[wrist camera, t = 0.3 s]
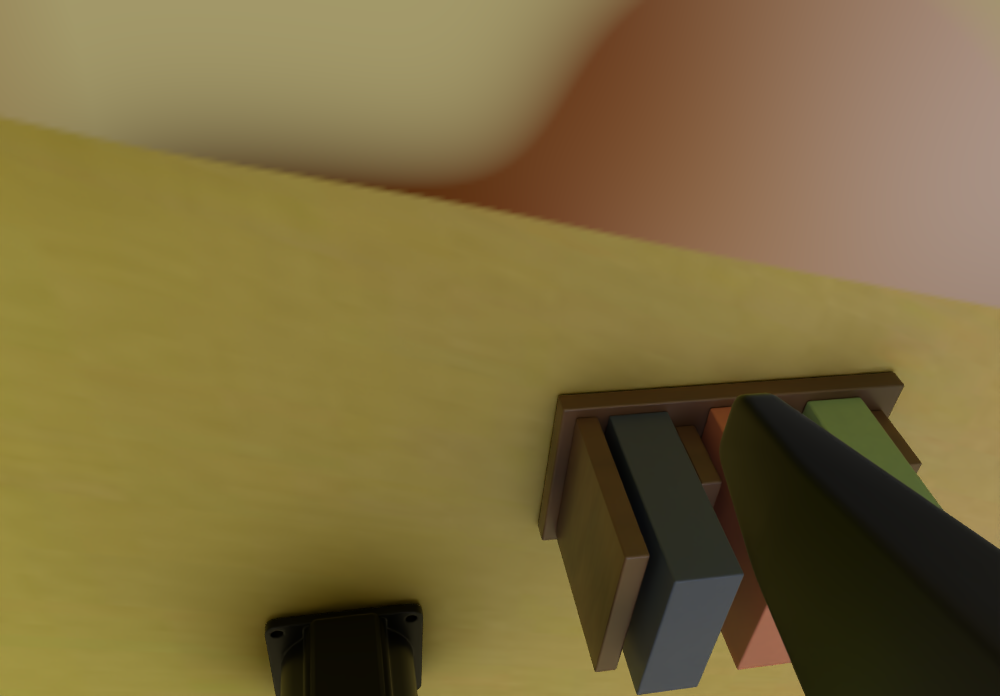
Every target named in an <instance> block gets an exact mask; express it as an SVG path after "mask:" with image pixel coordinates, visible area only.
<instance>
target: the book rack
mask: <svg viewBox="0 0 1000 696" xmlns="http://www.w3.org/2000/svg"><path fill="white" fill-rule="evenodd" d="M903 387H904V384H903V383H902V382H901V380H900V379H899V378H898V377H897V375H896V374H895V373H894V372H888V373H874V374H859V375H845V376H831V377H817V378H802V379H788V380H774V381H759V382H745V383H731V384H717V385H702V386H688V387H674V388H659V389H645V390H631V391H617V392H602V393H588V394H574V395H560V396H559V397H558V403H557V409H556V416H555V422H554V428H553V435H552V441H551V447H550V454H549V460H548V467H547V473H546V479H545V486H544V492H543V498H542V505H541V511H540V518H539V524H538V527H539V531H540V535H541V538H542V540H552V539H557V540H558V544H559V547H560V551H561V554H562V558H563V562H564V565H565V569H566V572H567V576H568V579H569V583H570V586H571V590H572V593H573V597H574V600H575V604H576V607H577V611H578V614H579V618H580V621H581V625H582V628H583V632H584V635H585V639H586V642H587V646H588V649H589V653H590V657H591V660H592V664H593V667H594V670H595V672H601V671H608V670H615V669H616V668H617V665H618V661H619V658H620V655H621V651H622V648H623V645H624V641H625V638H626V634H627V631H628V628H629V624H630V621H631V618H632V614H633V611H634V607H635V604H636V601H637V597H638V594H639V591H640V587H641V584H642V580H643V577H644V574H645V570H646V567H647V564H648V560H649V557H650V555H649V552H648V549H647V547H646V544H645V541H644V539H643V536H642V533H641V531H640V528H639V526H638V523H637V520H636V518H635V515H634V512H633V510H632V507H631V504H630V502H629V499H628V497H627V494H626V491H625V489H624V486H623V483H622V481H621V478H620V475H619V473H618V470H617V468H616V465H615V462H614V460H613V457H612V454H611V452H610V449H609V447H608V444H607V441H606V439H605V434H606V430H607V425H608V420H609V417H610V416H614V415H628V414H641V413H654V412H668V414H669V416H670V418H671V420H672V422H673V424H674V427H675V429H676V431H677V433H678V435H679V437H680V439H681V441H682V443H683V446H684V448H685V450H686V452H687V454H688V456H689V458H690V460H691V462H692V465H693V467H694V469H695V471H696V473H697V475H698V477H699V479H700V482H701V484H702V486H703V488H704V490H705V492H706V494H707V496H708V498H709V501H710V503H711V505H712V507H714V504H715V501H716V498H717V496H718V493H719V490H720V487H721V484H722V480H721V478H720V476H719V474H718V472H717V470H716V468H715V466H714V464H713V462H712V460H711V458H710V456H709V454H708V452H707V450H706V448H705V446H704V444H703V442H702V440H701V438H702V434H703V431H704V428H705V425H706V422H707V418H708V415H709V412H710V409H711V408H721V407H732V404H733V402H734V400H735V399H736V398H737V397H738V396H740V395H743V394H755V393H771V394H773V395H775V396H777V397H778V398H780V399H781V400H783V401H784V402H786V403H787V404H789V405H790V406H792V407H793V408H794V409H796V410H797V411H799V412H800V413H803V411H804V409H805V406H806V404H807V402H808V401H816V400H830V399H843V398H856V397H859V398H861V399H862V400H863V402H864V403H865V404H866V406H867V407H868V408H869V410H870V411H871V412H872V414H873V415H874V417H875V418H876V419H877V421H878V422H879V423H880V425H881V426H882V427H883V429H884V430H885V432H886V433H887V434H888V436H889V437H890V438H891V440H892V441H893V442H894V444H895V445H896V447H897V448H898V449H899V451H900V452H901V453H902V455H903V456H904V457H905V459H906V460H907V461H908V463H909V464H910V466H911V467H912V468H913V470H914V471H915V472H916V473H917V471H918V470H919V468H920V466H921V464H922V463H921V462H920V460H919V459H918V458H917V456H916V455H915V454H914V452H913V451H912V450H911V448H910V447H909V446H908V444H907V443H906V442H905V440H904V439H903V438H902V436H901V435H900V434H899V432H898V431H897V430H896V428H895V427H894V426H893V424H892V423H891V422H890V420H889V419H888V417H889V415H890V413H891V411H892V409H893V407H894V405H895V403H896V401H897V399H898V397H899V395H900V393H901V391H902V389H903Z"/></svg>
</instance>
